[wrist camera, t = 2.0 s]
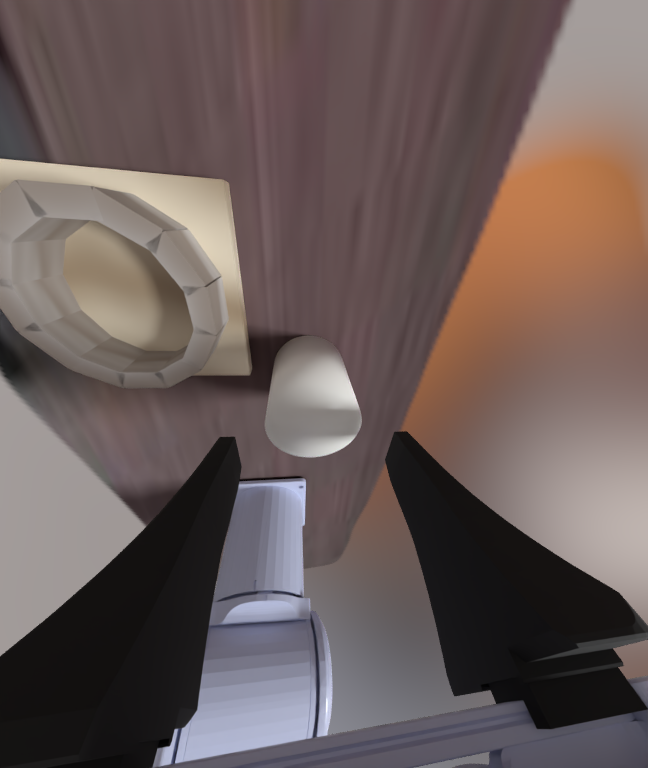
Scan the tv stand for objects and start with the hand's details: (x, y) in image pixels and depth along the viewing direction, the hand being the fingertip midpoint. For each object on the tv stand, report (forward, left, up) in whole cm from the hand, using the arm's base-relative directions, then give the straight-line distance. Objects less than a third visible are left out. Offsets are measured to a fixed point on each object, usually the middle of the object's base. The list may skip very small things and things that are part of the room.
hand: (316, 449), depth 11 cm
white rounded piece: (0, 0, -8) cm, 8 cm away
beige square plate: (+5, +9, -8) cm, 13 cm away
